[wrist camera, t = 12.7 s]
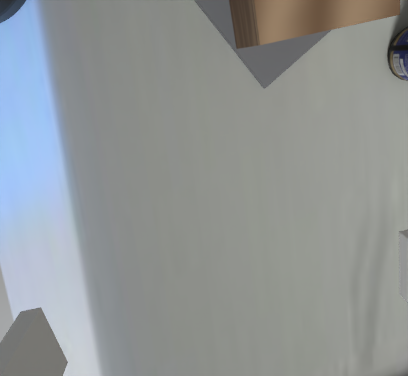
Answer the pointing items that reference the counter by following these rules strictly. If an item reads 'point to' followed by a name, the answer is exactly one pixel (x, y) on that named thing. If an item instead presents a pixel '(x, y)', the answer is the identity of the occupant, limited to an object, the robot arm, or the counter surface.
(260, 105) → the counter surface
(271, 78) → the mat
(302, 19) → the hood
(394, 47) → the pill bottle
